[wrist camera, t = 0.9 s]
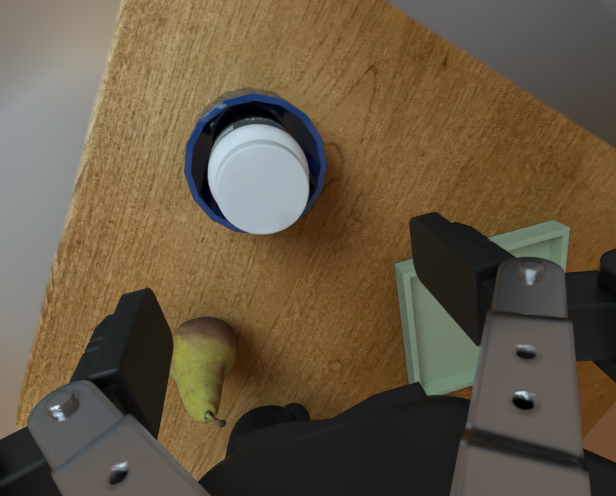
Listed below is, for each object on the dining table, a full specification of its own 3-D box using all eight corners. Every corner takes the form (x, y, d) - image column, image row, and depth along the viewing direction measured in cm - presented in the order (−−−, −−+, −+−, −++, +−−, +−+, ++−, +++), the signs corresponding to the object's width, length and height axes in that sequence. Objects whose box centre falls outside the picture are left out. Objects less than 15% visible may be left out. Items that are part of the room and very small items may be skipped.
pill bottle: (307, 137, 29) (342, 171, 20) (267, 203, 31) (285, 262, 22) (235, 92, 27) (240, 110, 18) (197, 166, 29) (184, 215, 20)
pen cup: (174, 103, 27) (163, 114, 22) (296, 75, 28) (311, 79, 23) (212, 217, 31) (210, 248, 26) (319, 190, 32) (336, 215, 27)
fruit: (161, 312, 33) (130, 432, 23) (230, 298, 34) (233, 408, 23) (179, 364, 36) (159, 494, 25) (243, 349, 37) (251, 471, 26)
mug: (288, 464, 44) (305, 569, 35) (207, 452, 41) (203, 564, 32) (336, 381, 40) (368, 474, 31) (250, 361, 37) (259, 458, 28)
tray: (394, 263, 36) (402, 274, 34) (553, 219, 37) (570, 227, 35) (409, 387, 42) (417, 402, 41) (543, 347, 44) (556, 360, 42)
